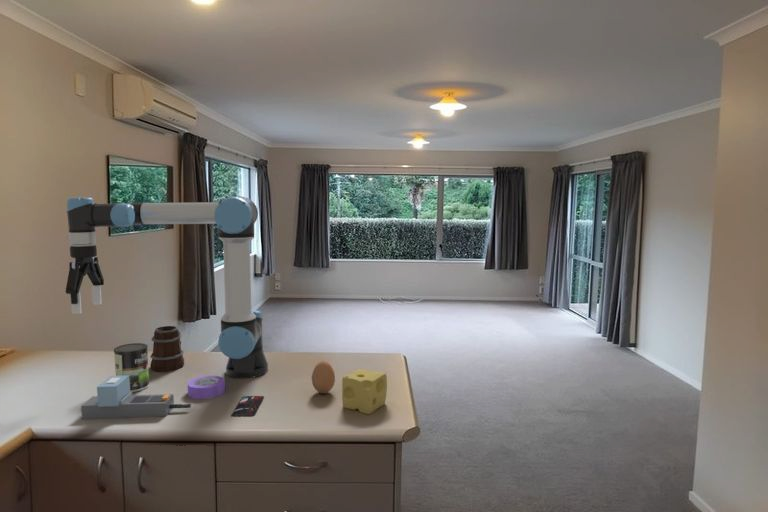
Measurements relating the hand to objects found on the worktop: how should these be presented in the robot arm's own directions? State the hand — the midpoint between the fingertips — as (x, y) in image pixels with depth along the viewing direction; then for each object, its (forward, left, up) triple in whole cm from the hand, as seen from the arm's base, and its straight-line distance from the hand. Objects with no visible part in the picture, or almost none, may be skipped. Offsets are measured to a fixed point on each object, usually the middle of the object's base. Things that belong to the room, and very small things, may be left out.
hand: (87, 308), depth 170 cm
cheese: (-91, +20, -28) cm, 97 cm away
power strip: (-23, +20, -28) cm, 41 cm away
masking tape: (-39, +5, -28) cm, 48 cm away
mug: (-18, -24, -28) cm, 41 cm away
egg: (-78, +9, -28) cm, 83 cm away
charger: (-16, +20, -24) cm, 35 cm away
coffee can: (-13, -1, -28) cm, 31 cm away
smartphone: (-55, +18, -28) cm, 64 cm away
